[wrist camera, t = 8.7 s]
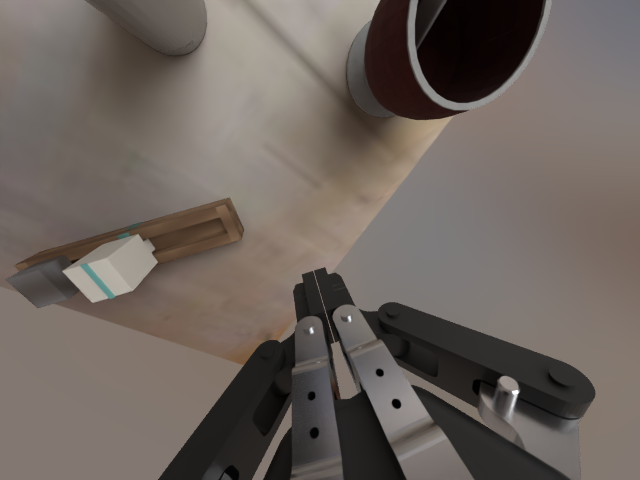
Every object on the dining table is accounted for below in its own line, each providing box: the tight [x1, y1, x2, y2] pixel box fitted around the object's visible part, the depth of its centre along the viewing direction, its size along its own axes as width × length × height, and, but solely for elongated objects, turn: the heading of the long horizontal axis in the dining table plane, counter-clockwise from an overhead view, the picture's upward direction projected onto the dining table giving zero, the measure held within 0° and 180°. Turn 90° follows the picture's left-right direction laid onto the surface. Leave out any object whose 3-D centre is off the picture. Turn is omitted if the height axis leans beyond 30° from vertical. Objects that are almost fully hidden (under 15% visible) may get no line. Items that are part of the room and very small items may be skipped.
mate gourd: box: [347, 0, 552, 120], centre depth 24 cm, size 16×14×20 cm
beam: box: [6, 198, 244, 308], centre depth 34 cm, size 6×30×8 cm, turn 104°
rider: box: [62, 234, 158, 303], centre depth 31 cm, size 5×5×9 cm
